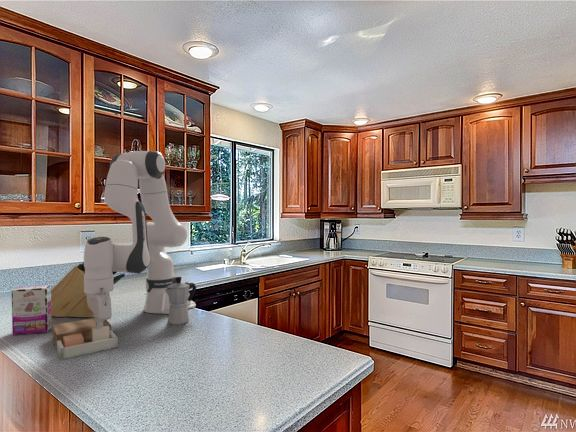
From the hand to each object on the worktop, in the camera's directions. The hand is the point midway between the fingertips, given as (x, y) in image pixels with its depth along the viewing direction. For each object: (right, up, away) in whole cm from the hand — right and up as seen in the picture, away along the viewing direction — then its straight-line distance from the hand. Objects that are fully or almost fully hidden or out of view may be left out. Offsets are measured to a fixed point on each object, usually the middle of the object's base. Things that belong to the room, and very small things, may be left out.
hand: (99, 326), depth 122 cm
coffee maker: (+20, -5, +25) cm, 32 cm away
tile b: (-5, -3, -7) cm, 9 cm away
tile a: (0, -3, 0) cm, 3 cm away
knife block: (-24, -5, +32) cm, 41 cm away
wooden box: (-8, -6, +4) cm, 10 cm away
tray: (-1, -6, -4) cm, 7 cm away
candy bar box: (-30, -5, +11) cm, 32 cm away
